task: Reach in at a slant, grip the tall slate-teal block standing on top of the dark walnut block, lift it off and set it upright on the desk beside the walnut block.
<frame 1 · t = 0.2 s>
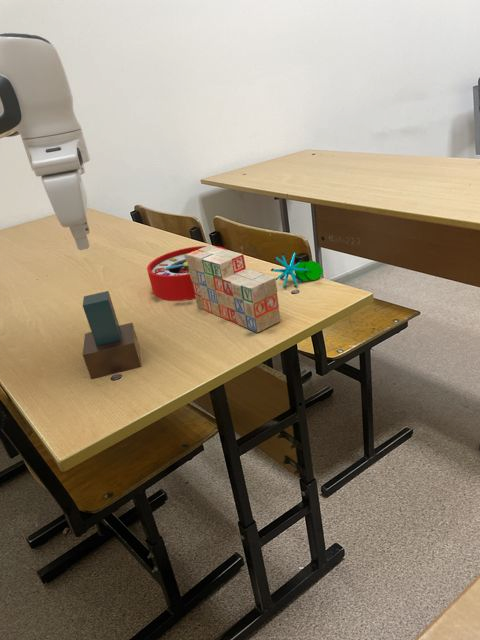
hand: (84, 240, 88), 23 cm above the table, tool pointing down, fingers open, 8 cm apart
stack of blocks: (237, 314, 109), on the table
toy clock: (193, 283, 128), on the table
stick construction toy: (296, 281, 120), on the table
teal block: (108, 337, 96), point 5 cm above the table, touching walnut block
walnut block: (116, 361, 99), on the table, touching teal block
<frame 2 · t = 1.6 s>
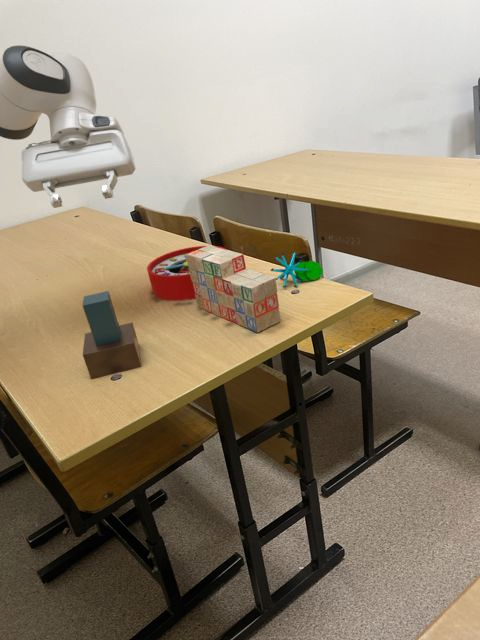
hand: (82, 201, 96), 27 cm above the table, tool tilted 45°, fingers open, 8 cm apart
nothing on the table moved.
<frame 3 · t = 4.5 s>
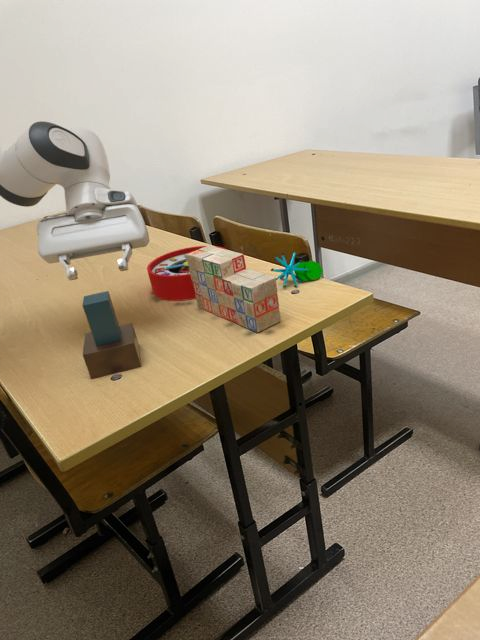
hand: (98, 274, 97), 15 cm above the table, tool tilted 45°, fingers open, 8 cm apart
nothing on the table moved.
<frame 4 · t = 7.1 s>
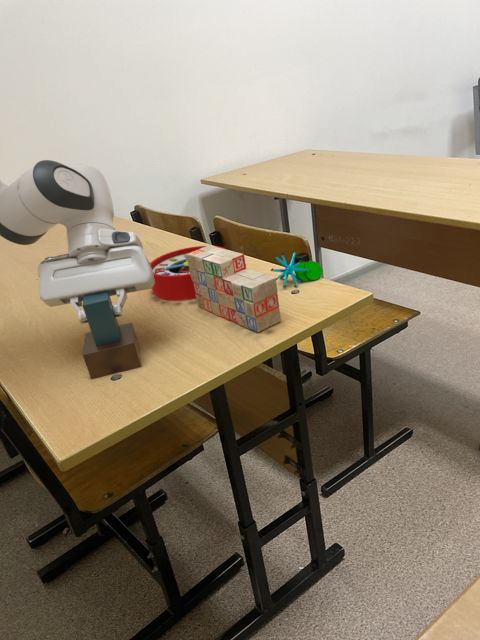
hand: (101, 318, 94), 9 cm above the table, tool tilted 45°, fingers closed on teal block, 4 cm apart
teal block: (108, 337, 96), point 5 cm above the table, touching gripper, walnut block
everything else where it was.
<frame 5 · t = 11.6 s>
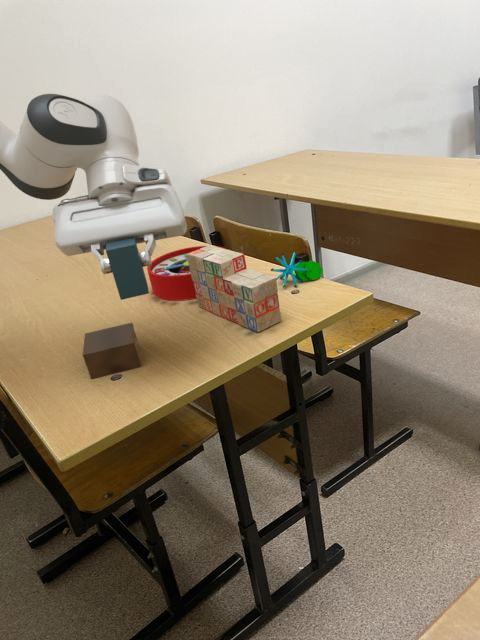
hand: (127, 268, 81), 20 cm above the table, tool tilted 45°, fingers closed on teal block, 4 cm apart
teal block: (134, 291, 83), point 16 cm above the table, touching gripper
walnut block: (116, 361, 99), on the table
everything else where it was.
when the fingers open (4 cm above the table, at t = 16.3 s): teal block stays where it is, on the table.
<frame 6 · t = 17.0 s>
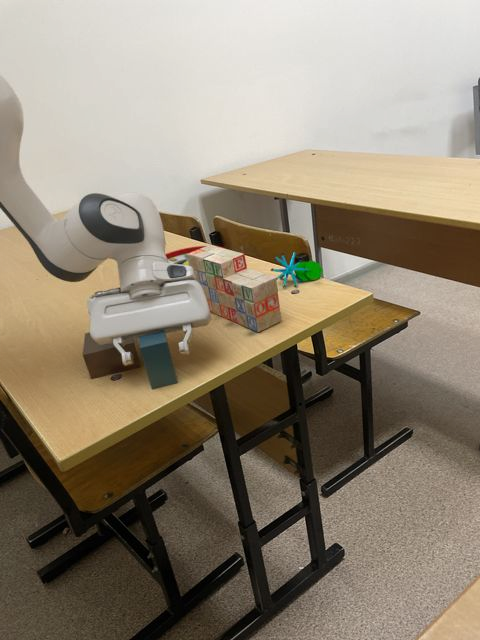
hand: (156, 358, 88), 5 cm above the table, tool tilted 45°, fingers open, 8 cm apart
teal block: (163, 379, 90), on the table
everything else where it was.
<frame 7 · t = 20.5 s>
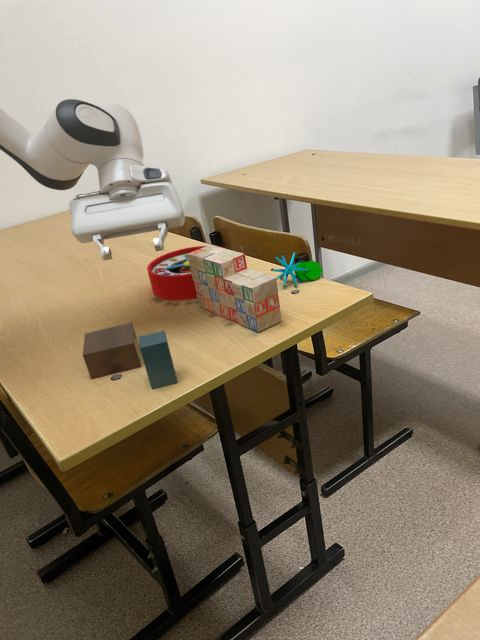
hand: (133, 253, 94), 18 cm above the table, tool tilted 45°, fingers open, 8 cm apart
nothing on the table moved.
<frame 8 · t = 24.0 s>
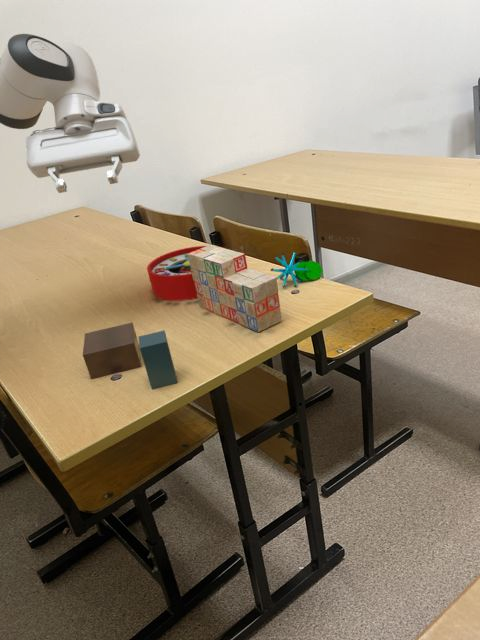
hand: (87, 186, 96), 29 cm above the table, tool tilted 45°, fingers open, 8 cm apart
nothing on the table moved.
at the end: teal block inside the target area (0.0 cm from its centre), on the table; teal block tilted 0°; walnut block moved 0.0 cm from its start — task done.
